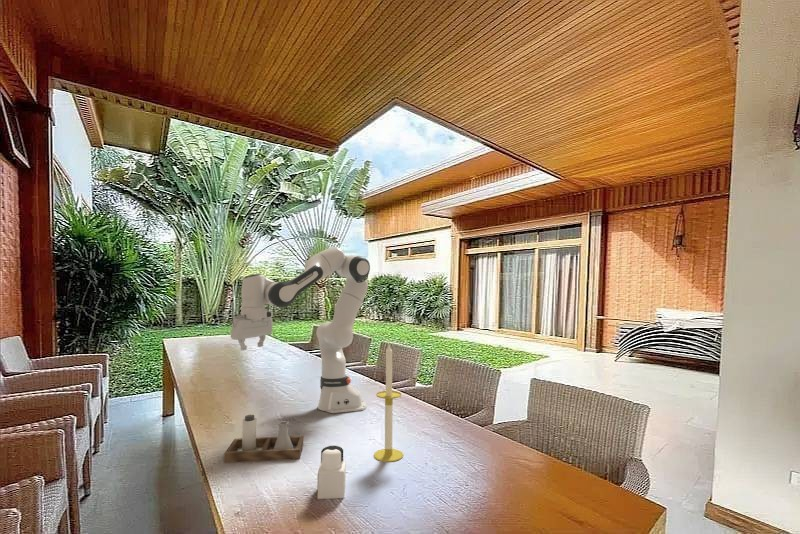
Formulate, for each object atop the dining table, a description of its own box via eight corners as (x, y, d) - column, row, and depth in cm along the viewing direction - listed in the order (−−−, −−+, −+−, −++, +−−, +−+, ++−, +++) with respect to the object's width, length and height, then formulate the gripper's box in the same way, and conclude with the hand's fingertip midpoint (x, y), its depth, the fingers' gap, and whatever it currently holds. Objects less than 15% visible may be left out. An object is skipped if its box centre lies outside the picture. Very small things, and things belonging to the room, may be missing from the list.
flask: (287, 457, 135) (288, 426, 135) (267, 455, 136) (268, 425, 137) (297, 449, 142) (297, 419, 142) (278, 447, 143) (278, 418, 144)
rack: (303, 444, 146) (303, 435, 146) (299, 459, 134) (299, 449, 134) (234, 447, 143) (234, 438, 143) (224, 462, 131) (224, 453, 131)
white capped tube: (256, 449, 141) (256, 413, 141) (255, 454, 136) (256, 417, 137) (242, 450, 139) (243, 414, 140) (241, 456, 135) (242, 418, 136)
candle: (380, 464, 130) (381, 346, 132) (369, 452, 139) (369, 341, 141) (408, 458, 134) (408, 344, 136) (395, 447, 144) (396, 340, 145)
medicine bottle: (320, 486, 116) (320, 443, 116) (345, 485, 117) (345, 442, 117) (317, 499, 109) (317, 454, 109) (344, 498, 109) (344, 453, 110)
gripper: (239, 316, 155) (239, 353, 154) (275, 312, 174) (275, 345, 173) (226, 315, 157) (226, 351, 157) (263, 312, 176) (263, 344, 175)
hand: (252, 348), depth 165 cm, fingers open, 8 cm apart
